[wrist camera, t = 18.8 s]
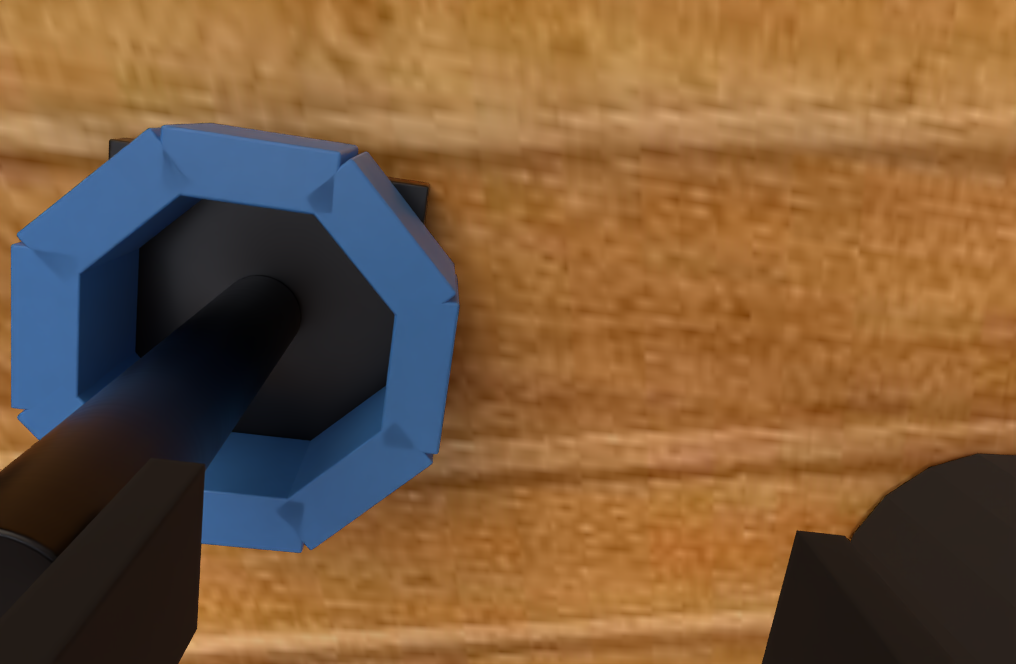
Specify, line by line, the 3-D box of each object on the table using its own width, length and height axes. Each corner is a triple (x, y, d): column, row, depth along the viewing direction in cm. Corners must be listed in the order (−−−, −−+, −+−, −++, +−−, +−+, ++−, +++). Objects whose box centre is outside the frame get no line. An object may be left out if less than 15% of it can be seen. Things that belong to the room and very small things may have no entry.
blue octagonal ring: (472, 162, 23) (478, 172, 20) (425, 498, 26) (422, 565, 22) (84, 103, 22) (9, 101, 18) (77, 462, 25) (10, 526, 21)
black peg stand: (429, 183, 25) (405, 304, 9) (395, 453, 27) (328, 924, 11) (124, 137, 24) (-500, 186, 8) (115, 421, 26) (-387, 893, 10)
